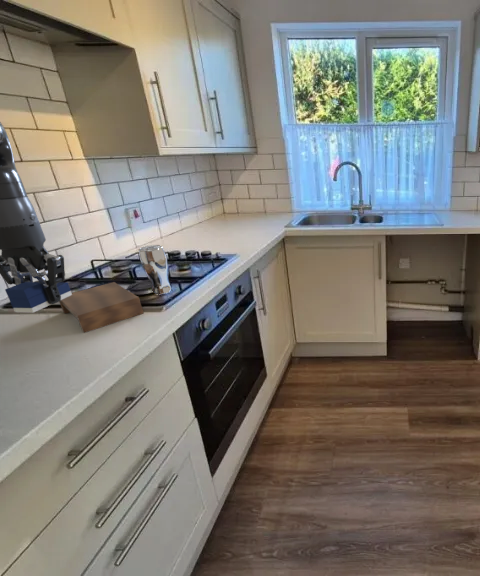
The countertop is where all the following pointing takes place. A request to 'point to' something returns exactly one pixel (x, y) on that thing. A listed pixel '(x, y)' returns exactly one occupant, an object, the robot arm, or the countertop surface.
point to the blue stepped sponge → (33, 296)
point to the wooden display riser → (102, 306)
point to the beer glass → (156, 268)
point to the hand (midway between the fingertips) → (44, 301)
